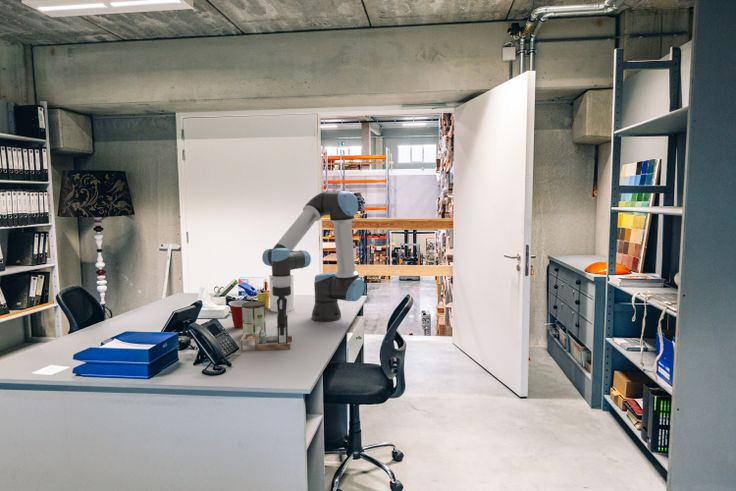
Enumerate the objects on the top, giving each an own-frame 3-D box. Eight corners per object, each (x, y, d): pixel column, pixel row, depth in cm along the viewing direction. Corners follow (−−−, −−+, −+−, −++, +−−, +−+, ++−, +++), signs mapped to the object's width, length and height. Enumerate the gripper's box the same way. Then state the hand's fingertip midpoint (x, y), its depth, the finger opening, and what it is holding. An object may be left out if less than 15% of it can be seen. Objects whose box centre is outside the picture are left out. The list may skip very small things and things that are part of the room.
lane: (292, 340, 205) (291, 325, 204) (290, 348, 193) (290, 333, 192) (244, 341, 203) (244, 326, 202) (240, 350, 191) (239, 334, 190)
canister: (282, 305, 273) (282, 271, 272) (299, 308, 266) (299, 273, 264) (265, 309, 263) (264, 274, 261) (282, 313, 255) (281, 276, 253)
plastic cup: (246, 330, 220) (245, 305, 219) (224, 329, 222) (224, 304, 221) (256, 324, 231) (255, 300, 230) (235, 323, 233) (235, 299, 232)
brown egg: (244, 339, 198) (251, 346, 199) (243, 342, 194) (250, 349, 195) (251, 333, 198) (258, 339, 199) (250, 335, 194) (257, 342, 195)
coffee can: (250, 330, 221) (250, 300, 220) (270, 332, 218) (269, 301, 217) (238, 336, 211) (237, 305, 210) (258, 338, 208) (257, 306, 207)
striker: (288, 342, 201) (287, 314, 200) (287, 345, 196) (286, 316, 195) (263, 343, 200) (262, 315, 198) (262, 346, 195) (261, 317, 194)
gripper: (274, 282, 204) (275, 335, 206) (270, 289, 187) (271, 347, 190) (291, 282, 205) (292, 335, 207) (289, 289, 188) (290, 346, 190)
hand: (282, 340), depth 198 cm, fingers closed on striker, 3 cm apart
